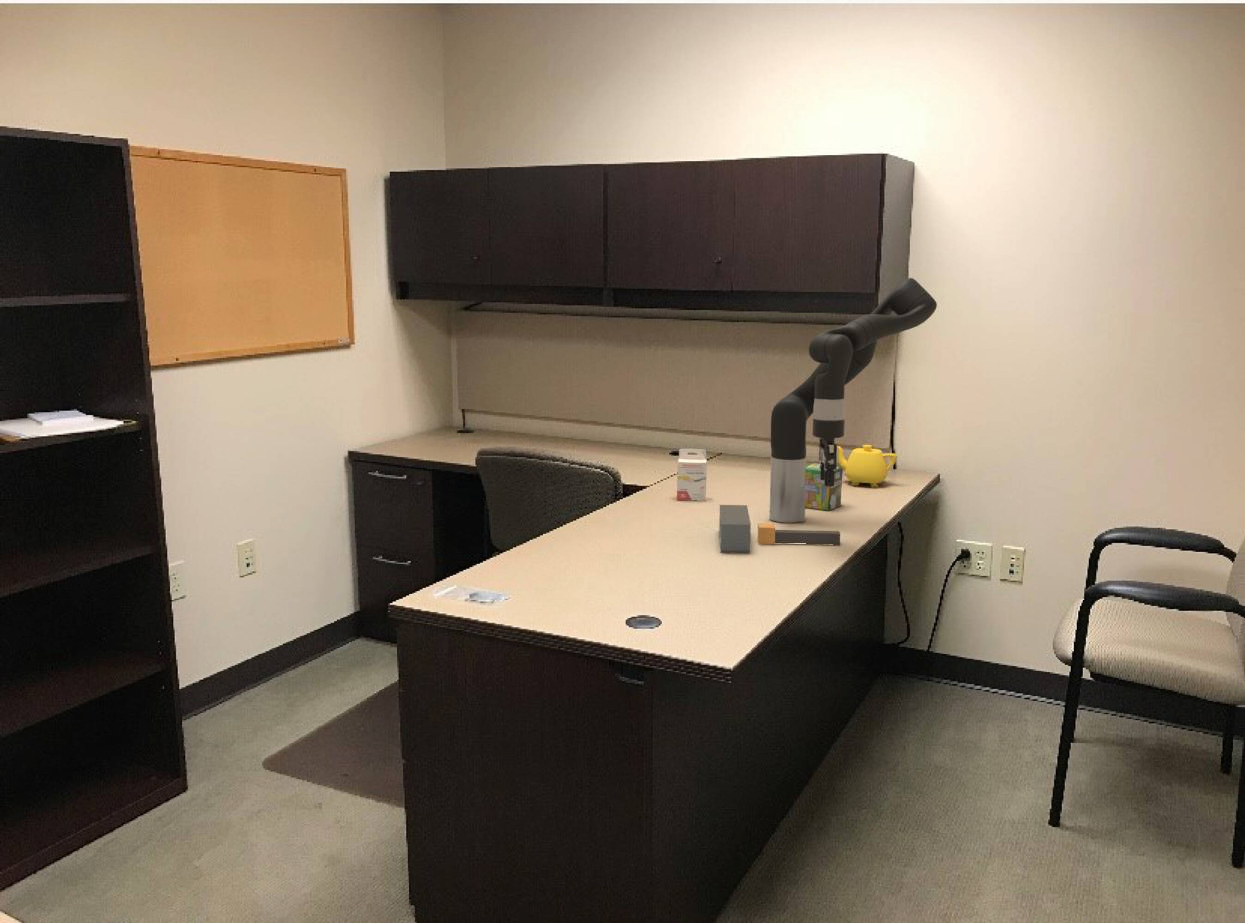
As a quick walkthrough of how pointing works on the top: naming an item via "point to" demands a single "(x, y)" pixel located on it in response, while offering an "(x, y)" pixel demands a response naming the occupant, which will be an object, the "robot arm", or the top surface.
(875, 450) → the teapot
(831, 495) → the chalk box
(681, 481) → the ink cartridge box
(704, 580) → the top surface
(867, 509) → the top surface
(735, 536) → the mallet head
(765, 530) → the plug
